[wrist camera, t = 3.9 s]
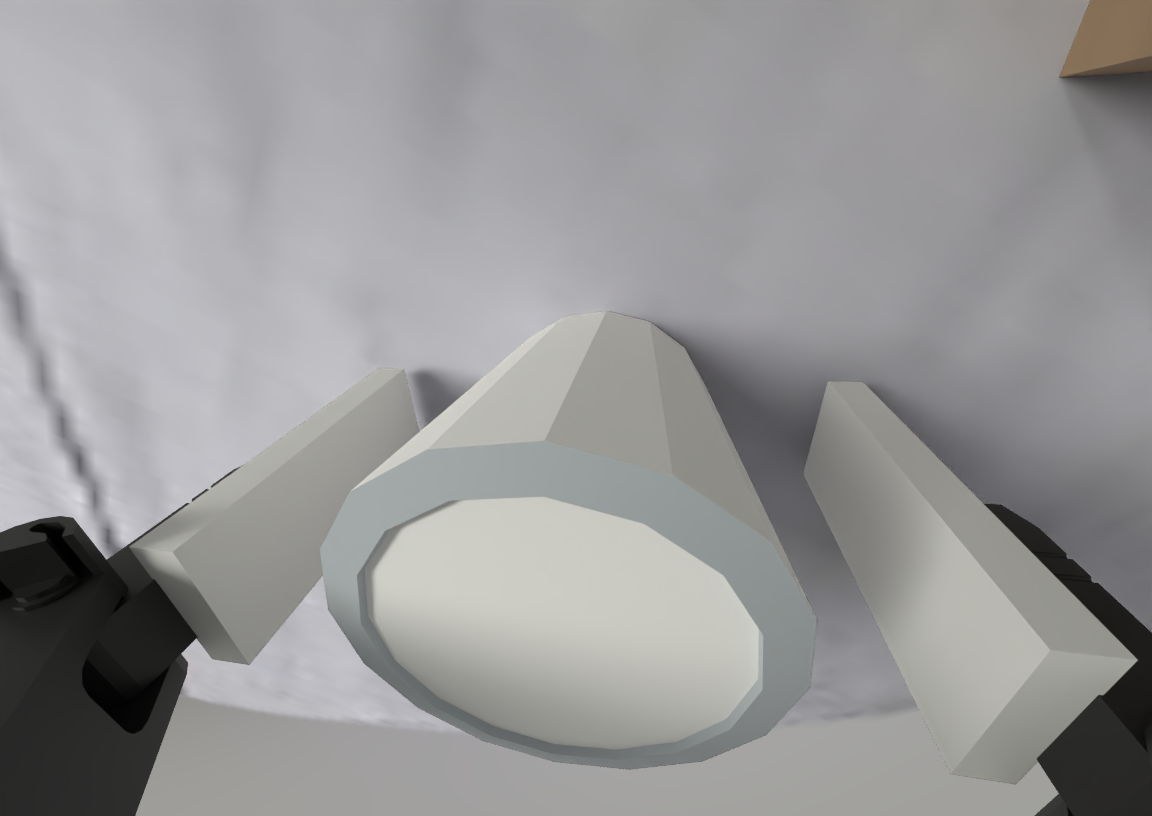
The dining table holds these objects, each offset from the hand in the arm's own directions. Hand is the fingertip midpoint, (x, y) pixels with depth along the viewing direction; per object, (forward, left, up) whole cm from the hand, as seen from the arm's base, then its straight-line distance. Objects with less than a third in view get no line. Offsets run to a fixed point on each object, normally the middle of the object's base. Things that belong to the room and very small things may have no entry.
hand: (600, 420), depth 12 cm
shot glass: (0, 0, -1) cm, 1 cm away
